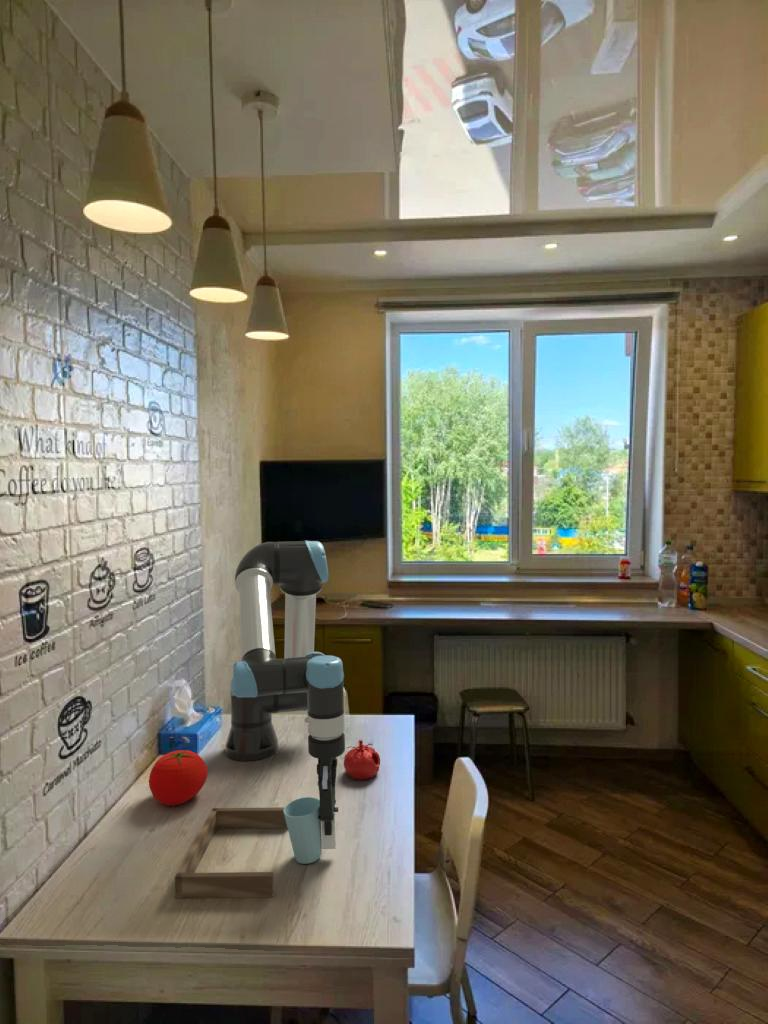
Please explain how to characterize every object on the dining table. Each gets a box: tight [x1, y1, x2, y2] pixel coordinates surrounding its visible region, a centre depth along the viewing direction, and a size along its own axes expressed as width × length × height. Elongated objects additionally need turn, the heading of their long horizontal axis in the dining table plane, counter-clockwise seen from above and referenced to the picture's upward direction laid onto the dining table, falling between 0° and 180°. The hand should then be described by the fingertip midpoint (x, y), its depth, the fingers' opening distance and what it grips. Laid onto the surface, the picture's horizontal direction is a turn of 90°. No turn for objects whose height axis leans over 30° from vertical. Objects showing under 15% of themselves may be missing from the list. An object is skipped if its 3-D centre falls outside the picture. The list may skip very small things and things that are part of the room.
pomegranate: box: [343, 739, 381, 781], centre depth 157 cm, size 10×10×9 cm
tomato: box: [148, 749, 209, 807], centre depth 145 cm, size 13×14×12 cm
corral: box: [174, 806, 288, 899], centre depth 122 cm, size 24×18×4 cm
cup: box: [283, 796, 323, 865], centre depth 121 cm, size 8×8×10 cm
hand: (329, 846), depth 121 cm, fingers closed
